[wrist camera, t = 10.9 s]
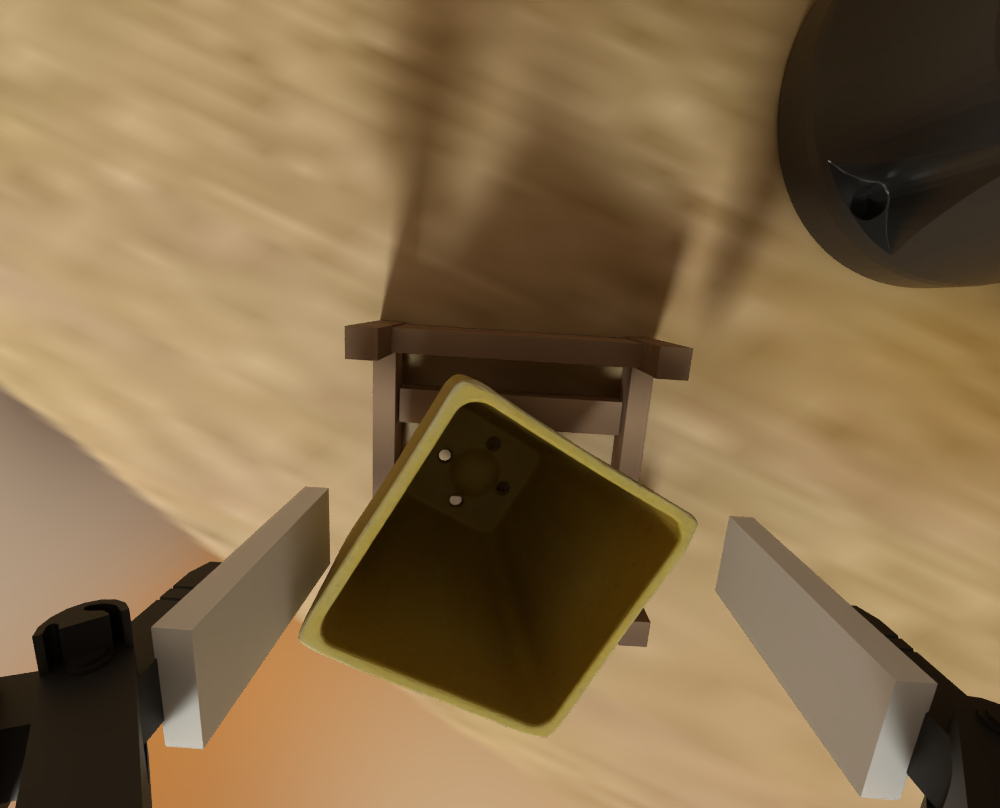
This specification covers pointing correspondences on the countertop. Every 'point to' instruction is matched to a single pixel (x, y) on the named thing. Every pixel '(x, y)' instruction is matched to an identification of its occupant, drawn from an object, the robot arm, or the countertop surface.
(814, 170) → the robot arm
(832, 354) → the countertop surface
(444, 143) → the countertop surface
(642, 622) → the rack
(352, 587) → the flower pot
